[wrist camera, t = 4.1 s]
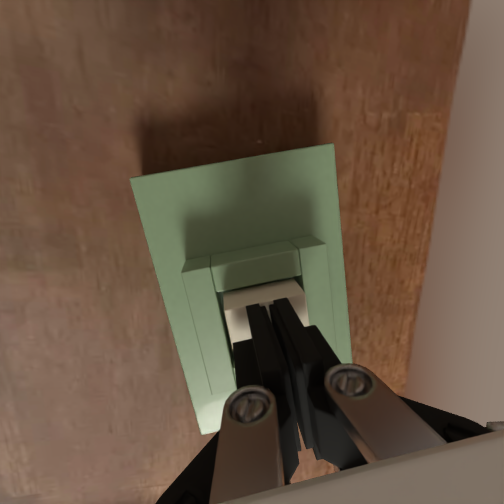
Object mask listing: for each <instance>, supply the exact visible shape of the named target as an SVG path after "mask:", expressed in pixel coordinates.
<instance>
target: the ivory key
mask: <svg viewBox="0 0 504 504" xmlns="http://www.w3.org/2000/svg"><path fill="white" fill-rule="evenodd" d="M285 297H287V298H288V300H289V301H290V303H291V305H292V307H293V308H294V310H295V312H296V313H297V315H298V317H299V319H300V320H301V322H302V324H303V326H304V327H306V326H309V318H308V311H307V303H306V295H305V292H304V291H303V290H302V289H301V287H300V286H299V285H298V283H297V282H296V281H295V279H294V278H292V279H287V280H282V281H277V282H272V283H267V284H263V285H258V286H253V287H248V288H243V289H239V290H234V291H229V292H224V293H223V300H224V312H225V317H226V322H227V326H228V331H229V335H230V340H231V345H232V349H233V344H232V343H234V342H238V341H243V340H248V339H252V337H251V332H250V327H249V321H248V316H247V311H246V306H248V305H252V304H257V303H259V305H260V306H265V307H266V310H267V312H268V315H269V318H270V320H271V316H270V310H269V305H270V304H273V300H276V299H281V298H285ZM271 323H272V322H271Z"/></svg>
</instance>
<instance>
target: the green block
mask: <svg viewBox="0 0 504 504" xmlns="http://www.w3.org/2000/svg"><path fill="white" fill-rule="evenodd" d="M130 183H131V186H132V190H133V193H134V197H135V200H136V204H137V208H138V211H139V215H140V218H141V222H142V225H143V229H144V233H145V236H146V240H147V243H148V247H149V250H150V254H151V258H152V261H153V265H154V268H155V272H156V276H157V279H158V283H159V286H160V290H161V293H162V297H163V301H164V304H165V308H166V311H167V315H168V318H169V322H170V326H171V329H172V333H173V336H174V340H175V343H176V347H177V351H178V354H179V358H180V361H181V365H182V369H183V372H184V376H185V379H186V383H187V386H188V390H189V394H190V397H191V401H192V404H193V408H194V411H195V415H196V419H197V422H198V426H199V429H200V433H201V435H204V434H208V433H212V432H216V431H219V430H220V426H221V420H222V413H223V407H224V404H225V401H226V400H227V398H228V397H229V396H230V395H231V394H232V393H233V392H234V391H235V390H237V385H236V375H235V365H234V355H233V349H232V345H231V340H230V335H229V331H228V326H227V322H226V317H225V312H224V300H223V293H224V292H229V291H234V290H239V289H243V288H248V287H253V286H258V285H263V284H267V283H272V282H277V281H282V280H287V279H292V278H294V279H295V281H296V282H297V283H298V285H299V286H300V287H301V289H302V290H303V291H304V292H305V295H306V303H307V311H308V318H309V326H311V325H316V326H317V327H318V329H319V330H320V332H321V333H322V335H323V336H324V338H325V339H326V341H327V342H328V344H329V345H330V347H331V348H332V350H333V351H334V353H335V354H336V356H337V357H338V359H339V360H340V362H341V363H342V364H343V363H352V353H351V341H350V329H349V317H348V305H347V294H346V282H345V270H344V258H343V247H342V235H341V223H340V211H339V199H338V188H337V176H336V164H335V152H334V143H328V144H322V145H316V146H310V147H305V148H299V149H293V150H287V151H281V152H276V153H270V154H264V155H258V156H253V157H247V158H241V159H235V160H229V161H224V162H218V163H212V164H206V165H201V166H195V167H189V168H183V169H177V170H172V171H166V172H160V173H154V174H148V175H143V176H137V177H131V178H130Z"/></svg>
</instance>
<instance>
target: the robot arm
mask: <svg viewBox="0 0 504 504" xmlns="http://www.w3.org/2000/svg"><path fill="white" fill-rule="evenodd" d="M269 310H270V316H271V320H270V318H269V315H268V312H267V310H266V307H265V306H260V305H259V303H257V304H252V305H248V306H246V311H247V316H248V321H249V327H250V332H251V337H252V339H248V340H243V341H238V342H234V343H232V344H233V355H234V365H235V375H236V385H237V390H235V391H234V392H233V393H232V394H231V395H230V396H229V397H228V398H227V400H226V401H225V404H224V407H223V413H222V420H221V426H220V430H219V431H218V432H217V433H216V434H215V436H214V437H213V438H212V439H211V440H210V441H209V442H208V443H207V445H206V446H205V447H204V448H203V449H202V450H201V451H200V453H199V454H198V455H197V456H196V457H195V458H194V459H193V460H192V462H191V463H190V464H189V465H188V466H187V467H186V468H185V469H184V471H183V472H182V473H181V474H180V475H179V476H178V477H177V479H176V480H175V481H174V482H173V483H172V484H171V485H170V486H169V488H168V489H167V490H166V491H165V492H164V493H163V494H162V496H161V497H160V498H159V499H158V501H157V502H156V504H504V422H487V426H486V427H483V426H481V425H479V424H478V423H476V422H474V421H472V420H469V419H467V418H464V417H461V416H458V415H455V414H452V413H449V412H446V411H443V410H440V409H437V408H434V407H431V406H428V405H425V404H422V403H418V402H416V401H413V400H410V399H407V398H404V397H401V396H398V395H396V394H395V393H394V392H393V391H392V390H391V389H390V388H389V387H388V386H387V385H386V384H385V383H384V382H382V381H381V380H380V379H379V378H378V377H377V376H376V375H375V374H374V373H373V372H372V371H370V370H369V369H367V368H366V367H363V366H361V365H357V364H352V363H343V364H342V363H341V362H340V360H339V359H338V357H337V356H336V354H335V353H334V351H333V350H332V348H331V347H330V345H329V344H328V342H327V341H326V339H325V338H324V336H323V335H322V333H321V332H320V330H319V329H318V327H317V326H316V325H311V326H306V327H304V326H303V324H302V322H301V320H300V319H299V317H298V315H297V313H296V312H295V310H294V308H293V307H292V305H291V303H290V301H289V300H288V298H287V297H285V298H281V299H276V300H273V304H270V305H269ZM271 322H272V323H271ZM297 423H298V425H297ZM298 426H299V429H300V432H301V435H302V438H303V441H304V444H305V447H306V449H310V448H313V451H314V454H315V457H316V459H317V460H320V459H324V460H326V461H328V462H330V463H332V464H333V465H334V470H335V473H332V474H328V475H324V476H320V477H316V478H313V479H309V480H305V481H301V482H297V483H293V484H291V482H290V479H291V477H292V475H293V474H294V472H295V470H296V468H297V467H298V465H299V459H298V451H301V444H300V438H299V432H298Z"/></svg>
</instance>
